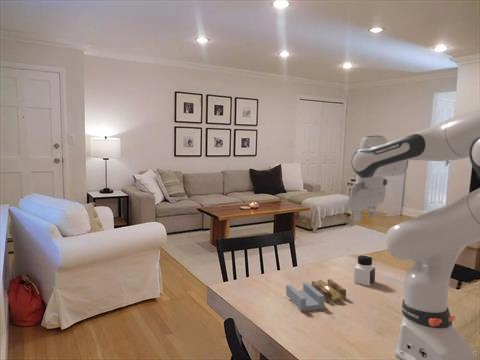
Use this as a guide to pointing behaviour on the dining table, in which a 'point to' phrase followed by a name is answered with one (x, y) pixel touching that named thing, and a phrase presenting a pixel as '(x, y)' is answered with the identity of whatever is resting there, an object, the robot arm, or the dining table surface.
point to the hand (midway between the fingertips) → (364, 218)
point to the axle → (331, 291)
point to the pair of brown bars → (326, 293)
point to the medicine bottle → (364, 271)
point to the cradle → (306, 297)
